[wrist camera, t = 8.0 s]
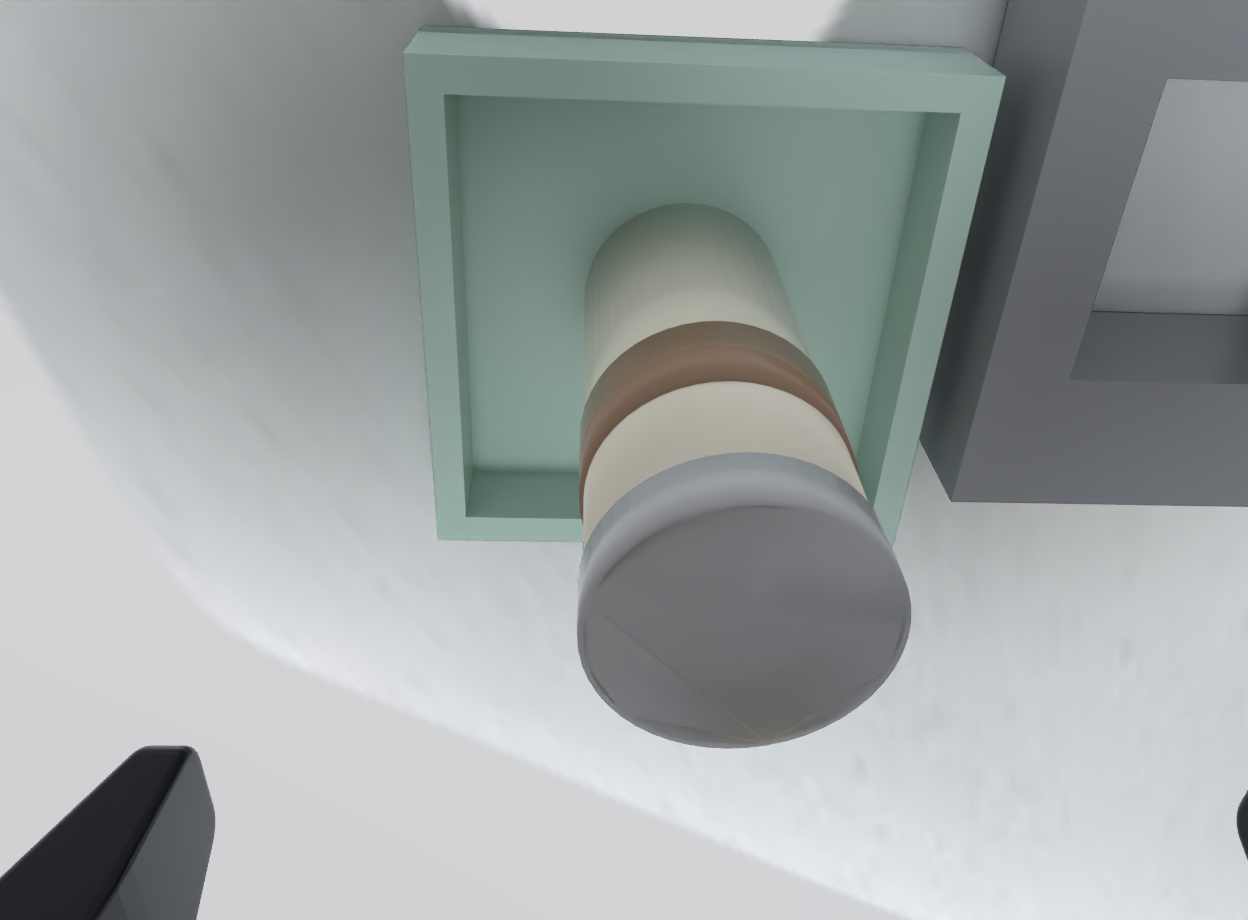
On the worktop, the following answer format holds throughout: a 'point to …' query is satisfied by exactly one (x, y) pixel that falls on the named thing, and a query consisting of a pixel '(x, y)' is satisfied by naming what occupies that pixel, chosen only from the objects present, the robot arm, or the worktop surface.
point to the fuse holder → (1085, 279)
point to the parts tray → (663, 175)
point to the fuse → (720, 499)
